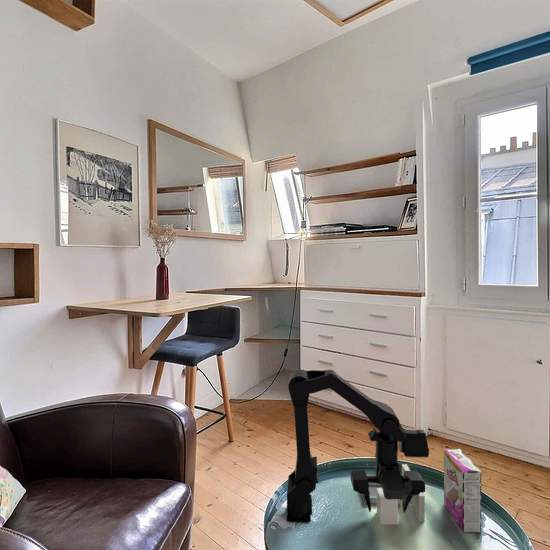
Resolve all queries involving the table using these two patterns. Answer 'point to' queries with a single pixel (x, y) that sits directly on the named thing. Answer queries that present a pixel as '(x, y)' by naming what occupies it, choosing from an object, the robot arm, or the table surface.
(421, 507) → the wall stub
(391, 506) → the block
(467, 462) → the candy bar box
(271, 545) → the table surface
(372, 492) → the frame
